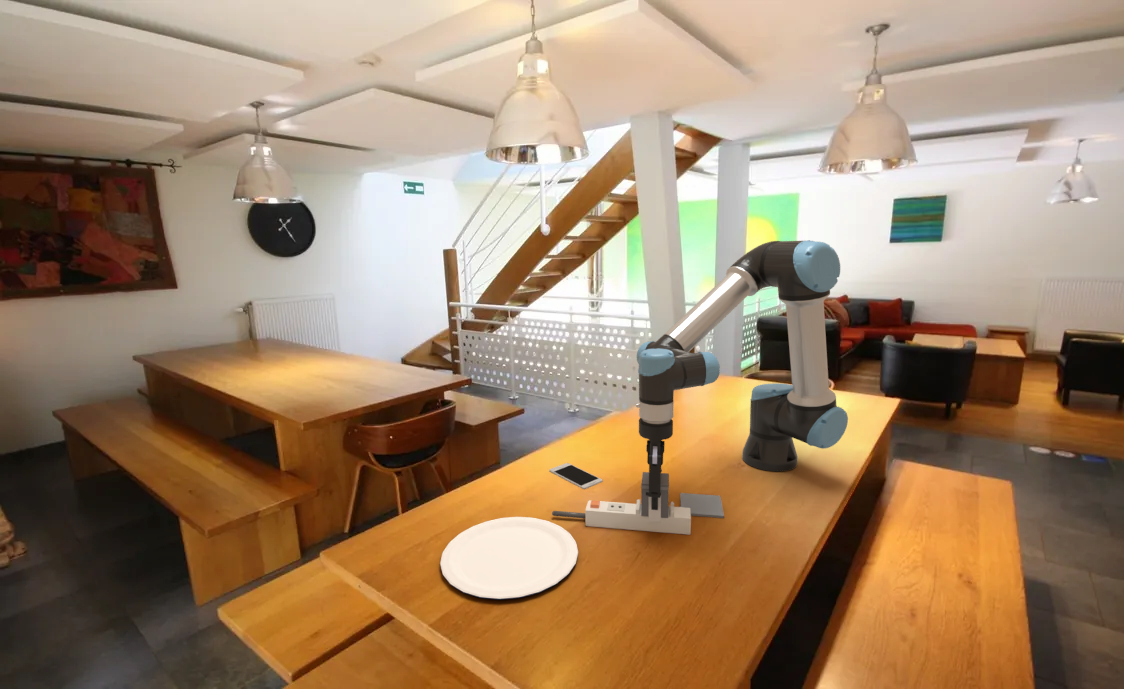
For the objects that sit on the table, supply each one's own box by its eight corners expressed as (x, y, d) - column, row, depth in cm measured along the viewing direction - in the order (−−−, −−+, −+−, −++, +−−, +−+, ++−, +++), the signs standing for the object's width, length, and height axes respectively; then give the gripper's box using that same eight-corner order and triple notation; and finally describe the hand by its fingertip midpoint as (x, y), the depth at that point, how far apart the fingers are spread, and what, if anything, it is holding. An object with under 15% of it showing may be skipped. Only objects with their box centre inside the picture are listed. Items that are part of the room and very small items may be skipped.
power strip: (689, 523, 124) (690, 503, 123) (690, 534, 119) (691, 513, 118) (554, 512, 130) (553, 493, 129) (550, 522, 126) (549, 502, 125)
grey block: (668, 504, 125) (669, 473, 123) (668, 518, 119) (668, 485, 117) (642, 502, 126) (642, 471, 124) (641, 516, 120) (641, 483, 118)
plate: (525, 626, 93) (525, 617, 93) (410, 574, 108) (409, 567, 108) (602, 543, 117) (602, 536, 117) (499, 511, 133) (499, 504, 132)
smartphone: (567, 465, 158) (567, 462, 158) (603, 482, 146) (603, 479, 146) (548, 472, 153) (548, 469, 153) (584, 491, 142) (584, 487, 142)
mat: (720, 497, 135) (720, 495, 135) (723, 518, 126) (724, 515, 125) (680, 495, 137) (680, 492, 137) (680, 514, 128) (680, 512, 127)
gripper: (641, 404, 127) (641, 492, 132) (636, 433, 109) (636, 534, 114) (672, 405, 126) (671, 494, 131) (673, 434, 108) (671, 537, 112)
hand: (655, 512), depth 122 cm, fingers closed on grey block, 6 cm apart
